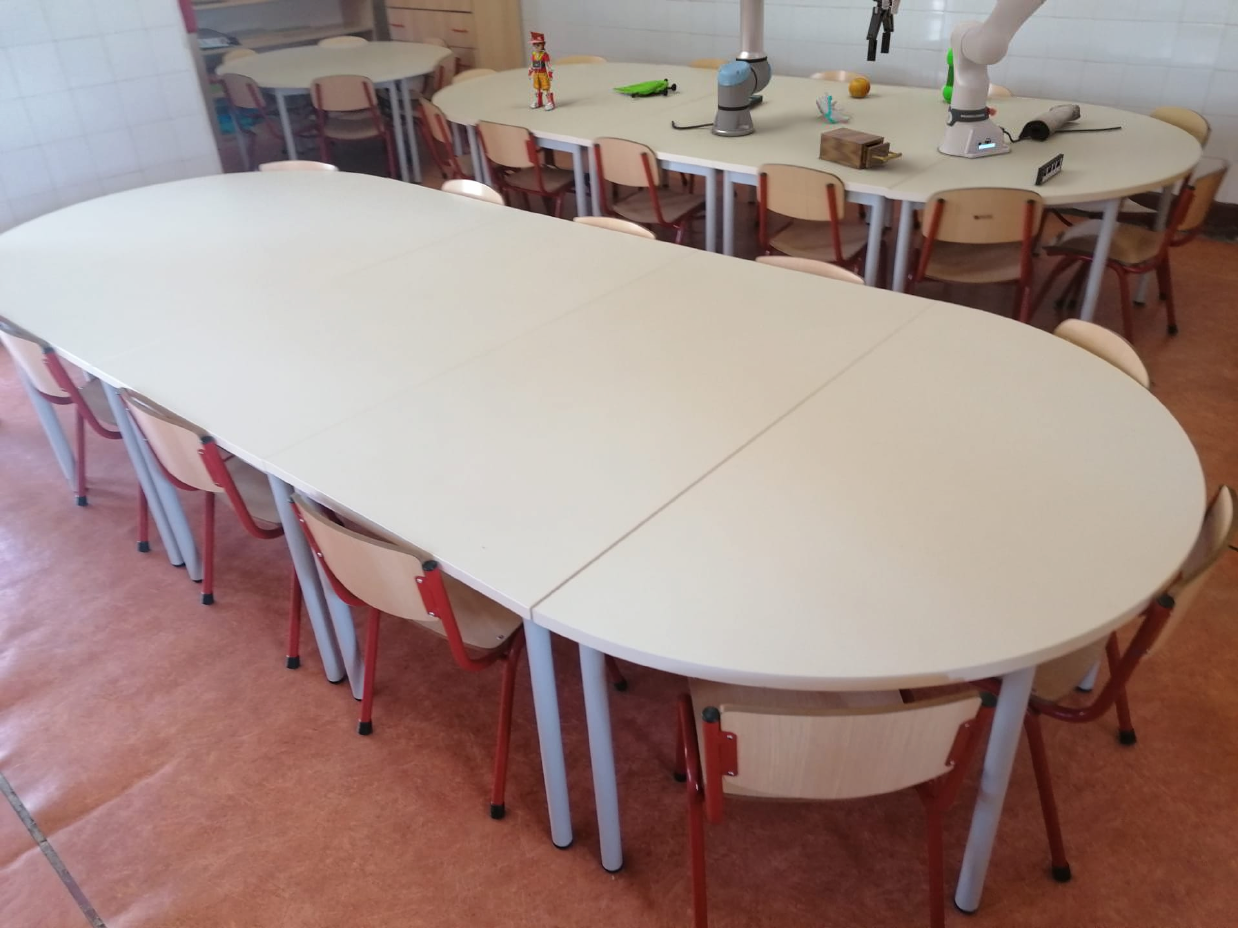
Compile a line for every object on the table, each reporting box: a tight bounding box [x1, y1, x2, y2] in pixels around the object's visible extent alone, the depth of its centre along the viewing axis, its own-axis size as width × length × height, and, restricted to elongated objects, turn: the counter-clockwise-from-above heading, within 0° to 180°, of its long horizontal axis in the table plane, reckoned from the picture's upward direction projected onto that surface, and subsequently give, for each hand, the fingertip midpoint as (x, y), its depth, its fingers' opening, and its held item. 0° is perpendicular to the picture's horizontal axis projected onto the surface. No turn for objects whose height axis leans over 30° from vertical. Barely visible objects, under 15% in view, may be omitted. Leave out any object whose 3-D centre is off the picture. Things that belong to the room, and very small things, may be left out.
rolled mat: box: [1017, 103, 1082, 142], centre depth 314 cm, size 30×9×10 cm
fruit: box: [848, 77, 871, 98], centre depth 368 cm, size 8×8×8 cm
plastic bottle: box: [942, 47, 954, 104], centre depth 348 cm, size 10×10×25 cm
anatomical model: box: [815, 92, 850, 124], centre depth 341 cm, size 15×10×10 cm
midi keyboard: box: [1035, 153, 1065, 186], centre depth 273 cm, size 18×1×5 cm, turn 138°
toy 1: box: [527, 31, 556, 111], centre depth 374 cm, size 12×9×30 cm
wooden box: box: [818, 126, 885, 170], centre depth 298 cm, size 18×10×8 cm, turn 35°
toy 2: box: [612, 78, 677, 99], centre depth 396 cm, size 28×5×30 cm
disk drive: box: [749, 94, 764, 110], centre depth 367 cm, size 10×3×15 cm
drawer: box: [862, 141, 903, 169], centre depth 293 cm, size 22×9×6 cm, turn 35°
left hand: (877, 57), depth 307 cm, fingers open, 13 cm apart
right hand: (889, 11), depth 274 cm, fingers open, 8 cm apart
